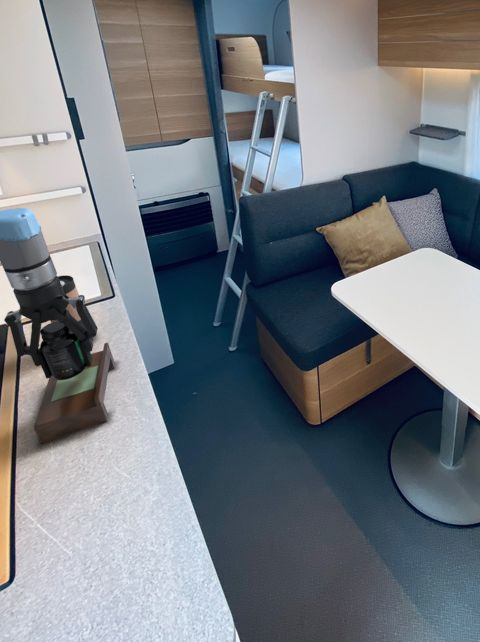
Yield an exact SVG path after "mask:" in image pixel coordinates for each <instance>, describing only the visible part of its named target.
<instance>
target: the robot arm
mask: <svg viewBox="0 0 480 642" xmlns="http://www.w3.org/2000/svg"><path fill="white" fill-rule="evenodd" d="M0 264H1V266H2V268H3V271H4V274H5V275H6V278H7V281H8V283H9V285H10V287H11V288H12V289H13V290H12V291H13V294H14V297H15V299H16V301H17V304H18V306H19V309H18V310H15V311H14V310H10V311H8V312H7V314H6V316H5V317H4V322H5V323H6V325H7V326H8V327H9V329H10V333H11V336H12V340H13V344H14V347H15V352H16V355H17V356H18V357H23V356H27V355H28V356H30V358H31V360H32V362H33V364H34V366H36V367H41V369H42V371H43V373H44V376H45V378H46V379H47V380H49V378H51V373H50V371H49V368H48V366H47V364H46V361H45V359H44V357H43V354H42V352H41V349H40V339H41V333H40V331H41V329H42V325H43V324H46V323H47V322H49V321H50V322H51V321H52V320H58V321H59V322H60V323H63V324H64V325H65V326H66V327H67V328H68V329H69V330H70V331H71V332H73V333H74V334H75V335H76V336H77V337H78V338H79V339H80V340H79V347H80V350H81V352H82V355H83V358H84V360H85V363H86V365H87V367H89V366H91V363H92V356H91V354H92V352H93V348H94V343H93V341H91V337H93V338H95V337H96V336H97V334H98V326H97V324H96V322H95V321H94V318H93V316H92V314H91V313H90V311H89V309H88V307H87V305H86V297H85V295H84V294H79V296H78V297H76V298H69V297H68V296H67V295H66V294H65V293H64V291H63V288H62V285H61V282H60V280H59V277H58V276H59V275H58V272H57V269H56V267H55V264H54V261H53V259H52V257H51V255H50V251H49V247H48V245H47V242H46V240H45V237H44V234H43V231H42V226H41V225H40V223H39V222H38V219H37V218H36V216H35V213H34V212H33V211H32V210H31V209H29V208H26V207H16V208H7V209H2V210H0ZM68 304H71V305H72V306H73V307H74V308H76V310H77V313H78V315H79V316H80V318H81V320H82V322H83V324H84V326H85V327H86V329H87V330H86V329H85V328H84V327H83V326H82V325H81V324H80V323H79V322H78V321H77V320H76V319H75V318H74V317H73V316H72V315H71V314H70V313H69V311H68V310H67V309H66V307H67V306H68ZM22 317H24V318H26V319H28V320H30V321H31V327H30V328H31V330H30V331H31V332H30V341H29V345H28V342H27V338H26V335H25V331H24V326H23V322H22Z"/></svg>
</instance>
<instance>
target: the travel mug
mask: <svg viewBox="0 0 480 642" xmlns="http://www.w3.org/2000/svg"><path fill="white" fill-rule="evenodd" d="M57 276H58V277H59V280H60V282H61V285H62V288H63V291H64V293H65V294H66V295H67V296H68V297H69V298H76V297H78V296H79V295H80V294H79V290H78V288H77V285H76V283H75V280H74V277H73V276H71V275H64V274H63V275H57ZM66 309H67V310H68V311H69V313H70V314H71V315H72V316H73V317H74V318H75V319H76V320H77V321H78V322H79V323H80V324H81V325H82V326H83V327H84V328H85V329H86V327H85V326H84V324H83V322H82V320H81V318H80V316H79V315H78V313H77V310H76V308H74V307H73V306H72V305H71V304H68V306H67V307H66ZM55 321H58V320H52V321H50V323H52V322H55ZM86 330H87V329H86ZM91 341H92V342H93V341H94V337H91Z"/></svg>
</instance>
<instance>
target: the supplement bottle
mask: <svg viewBox="0 0 480 642" xmlns="http://www.w3.org/2000/svg"><path fill="white" fill-rule="evenodd" d="M40 337H41V339H42V341H41V343H40V344H39V348H40V349H41V352H42V354H43V357H44V359H45V361H46V364H47V366H48V368H49V371H50V373H51V375H52V377H53V378H54V379H56V380H66V379H70V378H73V377H75V376H77V375H78V374H80V373H81V372H82V371H83V370H84V369H85V368H86V367H87V365H86V363H85V360H84V358H83V355H82V352H81V350H80V347H79V340H80V339H79V338H78V337H77V336H76V335H75V334H74V333H73V332H71V331H70V330H69V329H68V328H67V327H66V326H65V325H64V324H63V323H60V322H59V321H55V322H52V323H51V322H50V323H48V324H46V325H44V326H43V327H41V331H40Z"/></svg>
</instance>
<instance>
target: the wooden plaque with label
mask: <svg viewBox="0 0 480 642" xmlns="http://www.w3.org/2000/svg"><path fill="white" fill-rule="evenodd" d="M91 356H92V363H91V366H89V367H86V368H85V369H84V370H83V371H82V372H81V373H80V374H78V375H77V376H75V377H73V378H70V379H66V380H56V379H54V378H53V377H52V375H51V378H48V379H47V384H46V387H45V389H44V392H43V396H42V398H41V402H40V405H39V408H38V411H37V414H36V418H35V421H34V424H33V429H34V431H35V434H36V435H37V437H38V439H39V441H40V444H45V443H48V442H51V441H53V440H58V439H60V438H62V437H66V436H68V435H72V434H75V433H77V432H80V431H83V430H86V429H89V428H92V427H95V426H99V425H101V424H104V423H106V422H108V418H109V413H108V410H107V407H106V405H105V396H106V390H107V389H106V388H107V382H108V376H109V371H110V370H114V369H115V366H116V362H115V359H114V356H113V353H112V350H111V348H110V344H109V342H104V344H103V350H99V351H96V352H93V353H92V352H91Z"/></svg>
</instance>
